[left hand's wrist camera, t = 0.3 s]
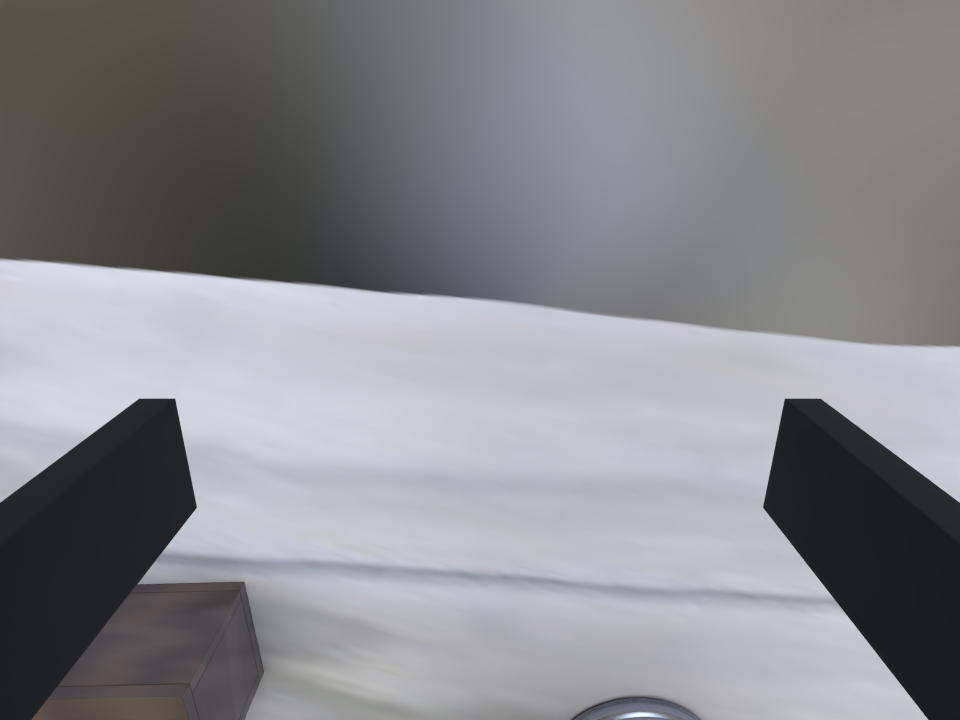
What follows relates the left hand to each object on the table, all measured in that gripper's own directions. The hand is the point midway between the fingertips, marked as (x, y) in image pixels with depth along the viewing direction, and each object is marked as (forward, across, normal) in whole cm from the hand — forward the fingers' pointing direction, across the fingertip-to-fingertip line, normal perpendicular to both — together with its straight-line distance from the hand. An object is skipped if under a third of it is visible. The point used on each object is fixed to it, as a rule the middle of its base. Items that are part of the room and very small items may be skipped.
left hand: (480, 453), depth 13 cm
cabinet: (+28, +29, +33) cm, 52 cm away
